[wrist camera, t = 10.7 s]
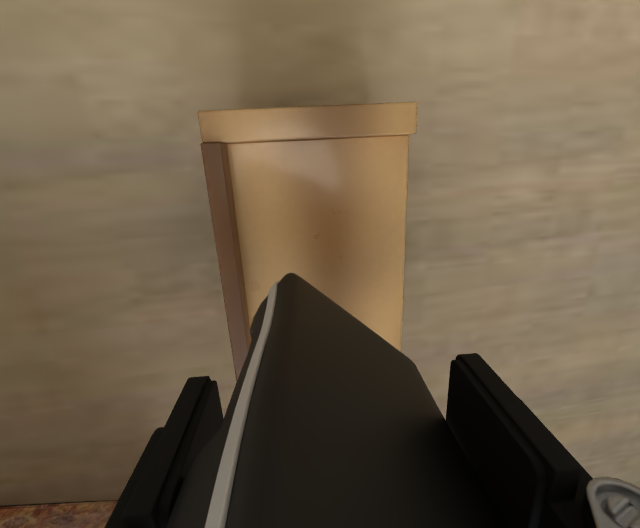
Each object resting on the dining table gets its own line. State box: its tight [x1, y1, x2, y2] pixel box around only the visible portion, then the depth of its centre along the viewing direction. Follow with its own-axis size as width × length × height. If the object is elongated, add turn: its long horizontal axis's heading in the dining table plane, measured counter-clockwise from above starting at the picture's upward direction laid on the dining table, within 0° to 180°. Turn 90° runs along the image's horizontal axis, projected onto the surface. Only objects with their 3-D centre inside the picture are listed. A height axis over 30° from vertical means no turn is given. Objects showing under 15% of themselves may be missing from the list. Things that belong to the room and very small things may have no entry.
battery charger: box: [166, 273, 507, 528], centre depth 8 cm, size 7×4×11 cm, turn 50°
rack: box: [198, 102, 417, 381], centre depth 25 cm, size 11×22×12 cm, turn 3°
